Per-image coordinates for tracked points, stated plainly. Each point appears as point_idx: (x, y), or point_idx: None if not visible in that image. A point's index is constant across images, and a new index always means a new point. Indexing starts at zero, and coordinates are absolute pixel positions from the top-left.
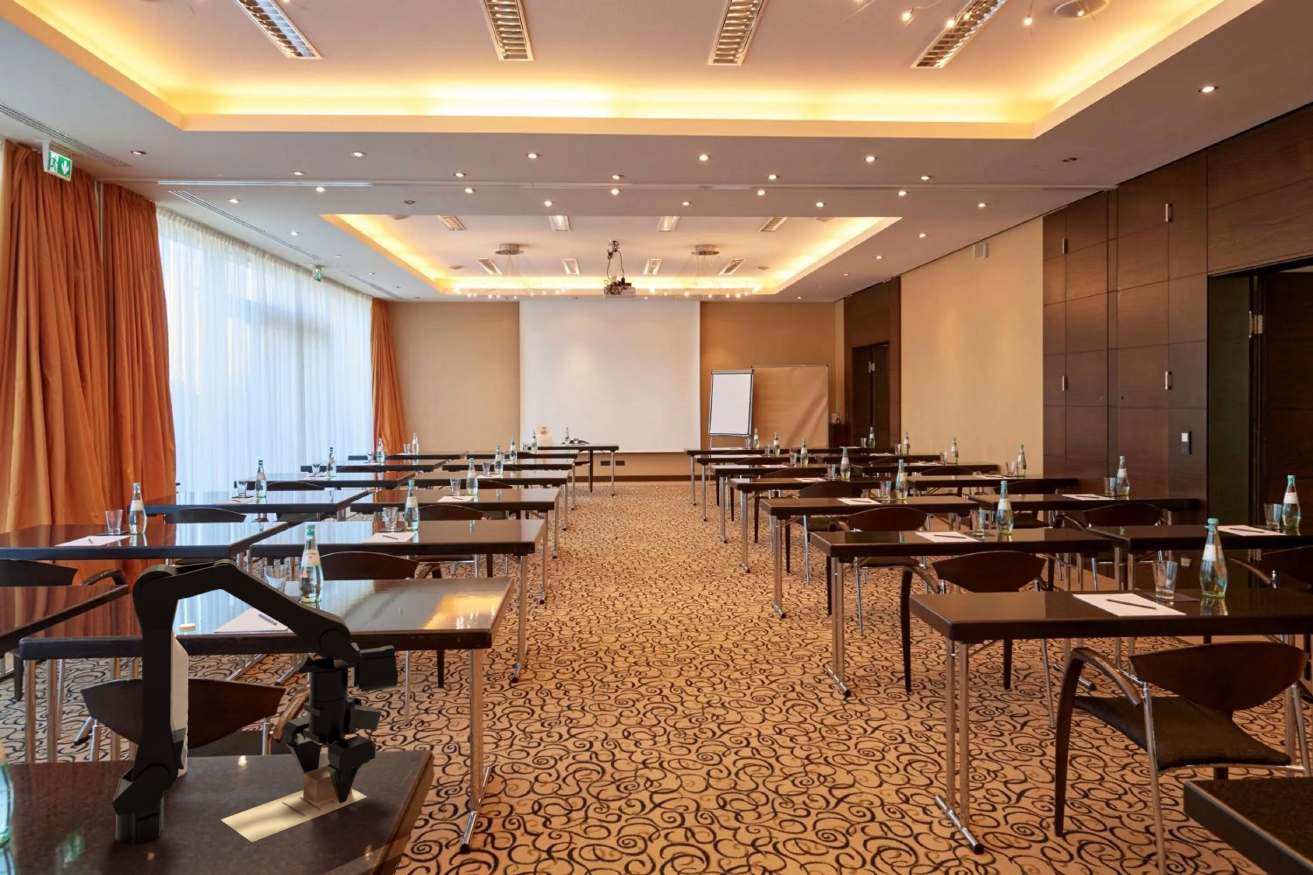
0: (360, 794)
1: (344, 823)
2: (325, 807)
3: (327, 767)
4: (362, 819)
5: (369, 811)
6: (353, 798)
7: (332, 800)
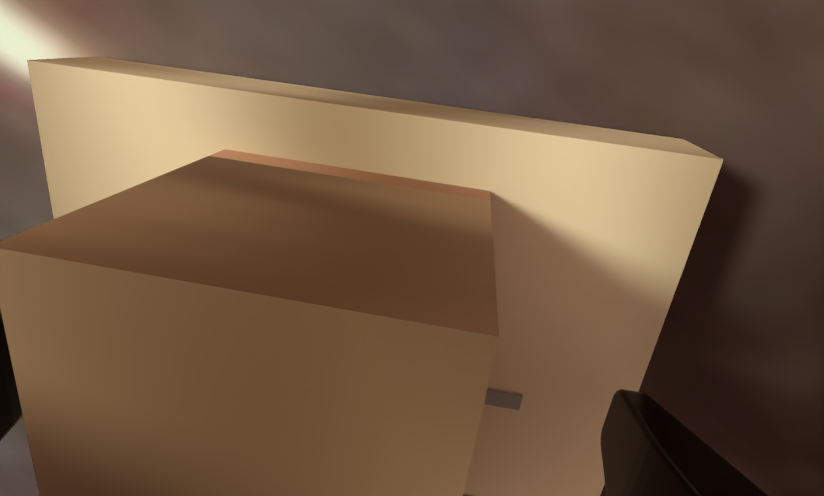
0: (601, 160)
1: (715, 417)
2: (508, 470)
3: (107, 493)
4: (819, 321)
5: (782, 198)
6: (602, 260)
7: None
